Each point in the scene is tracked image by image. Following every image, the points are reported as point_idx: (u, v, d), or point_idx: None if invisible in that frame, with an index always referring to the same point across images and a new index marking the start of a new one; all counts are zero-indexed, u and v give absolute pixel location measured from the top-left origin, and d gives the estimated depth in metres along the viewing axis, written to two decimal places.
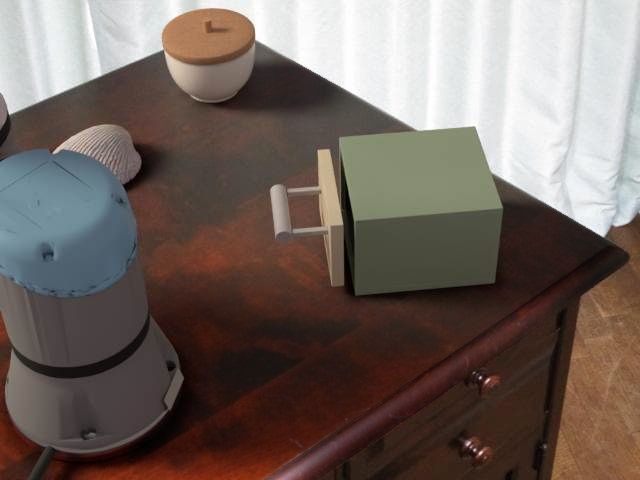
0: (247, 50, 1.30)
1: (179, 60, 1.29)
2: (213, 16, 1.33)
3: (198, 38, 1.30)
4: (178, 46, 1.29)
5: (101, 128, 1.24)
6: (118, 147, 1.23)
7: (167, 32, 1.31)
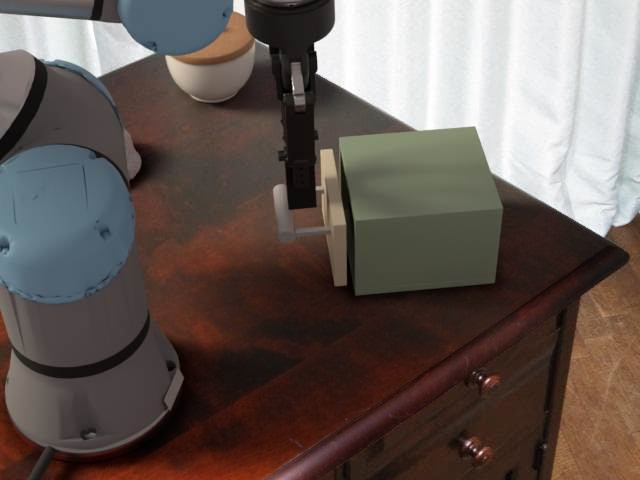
0: (247, 50, 1.30)
1: (179, 60, 1.29)
2: None
3: None
4: None
5: None
6: None
7: None
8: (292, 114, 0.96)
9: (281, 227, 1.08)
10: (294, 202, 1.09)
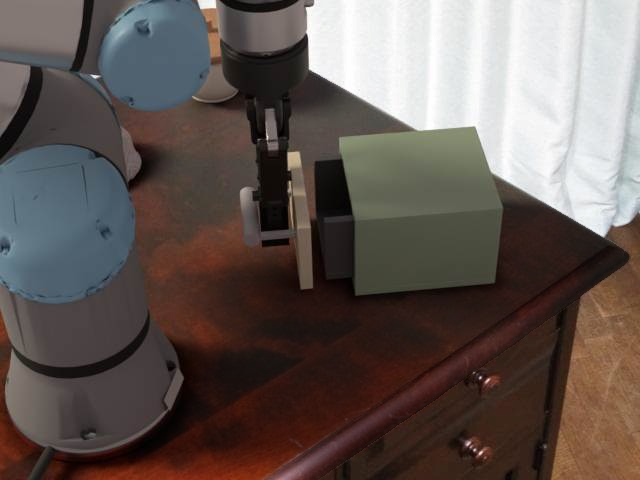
0: None
1: None
2: (213, 16, 1.33)
3: None
4: None
5: None
6: None
7: None
8: (265, 159, 0.99)
9: (246, 230, 1.08)
10: (267, 240, 1.12)
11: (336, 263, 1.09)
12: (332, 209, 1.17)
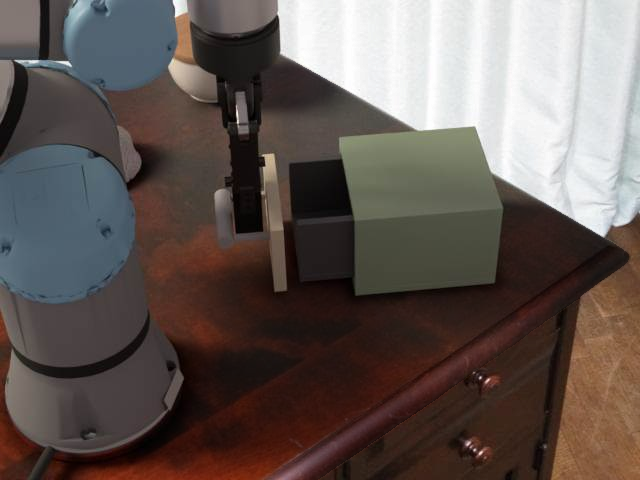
0: None
1: (179, 60, 1.29)
2: None
3: None
4: (178, 46, 1.29)
5: None
6: None
7: None
8: (236, 143, 0.98)
9: (220, 232, 1.08)
10: (241, 227, 1.10)
11: (310, 265, 1.09)
12: (308, 211, 1.16)
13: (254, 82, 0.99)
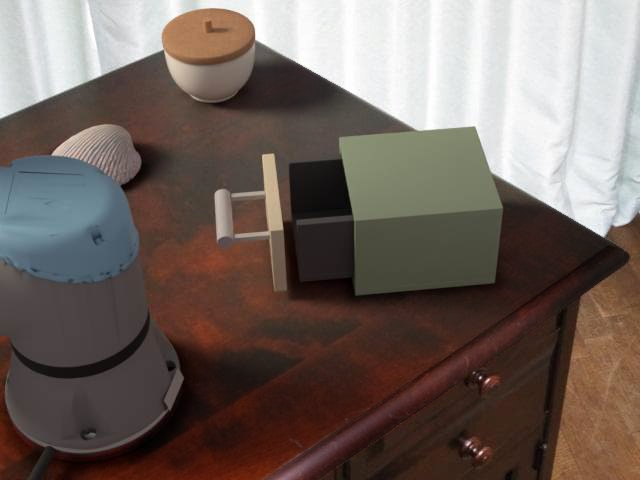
0: (246, 50, 1.30)
1: (179, 60, 1.29)
2: (213, 16, 1.33)
3: (198, 38, 1.30)
4: (178, 46, 1.29)
5: (101, 128, 1.24)
6: (118, 147, 1.23)
7: (167, 32, 1.31)
8: None
9: (220, 232, 1.08)
10: None
11: (310, 265, 1.09)
12: (308, 211, 1.16)
13: None
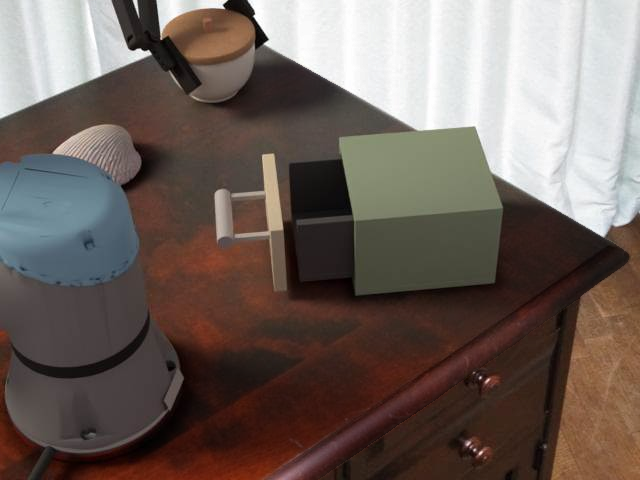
0: (246, 50, 1.30)
1: None
2: (213, 16, 1.33)
3: (198, 38, 1.30)
4: (178, 46, 1.29)
5: (101, 128, 1.24)
6: (118, 147, 1.23)
7: (167, 32, 1.31)
8: None
9: (220, 232, 1.08)
10: (184, 87, 1.29)
11: (310, 265, 1.09)
12: (308, 211, 1.16)
13: None
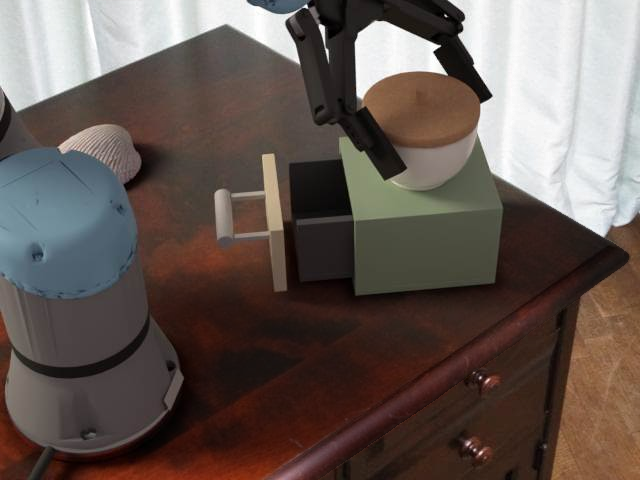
0: (473, 128, 1.02)
1: (390, 141, 1.01)
2: (423, 83, 1.06)
3: (411, 113, 1.02)
4: (388, 123, 1.01)
5: (101, 128, 1.24)
6: (118, 147, 1.23)
7: (369, 104, 1.04)
8: (298, 40, 0.99)
9: (220, 232, 1.08)
10: (382, 170, 1.01)
11: (310, 265, 1.09)
12: (308, 211, 1.16)
13: None
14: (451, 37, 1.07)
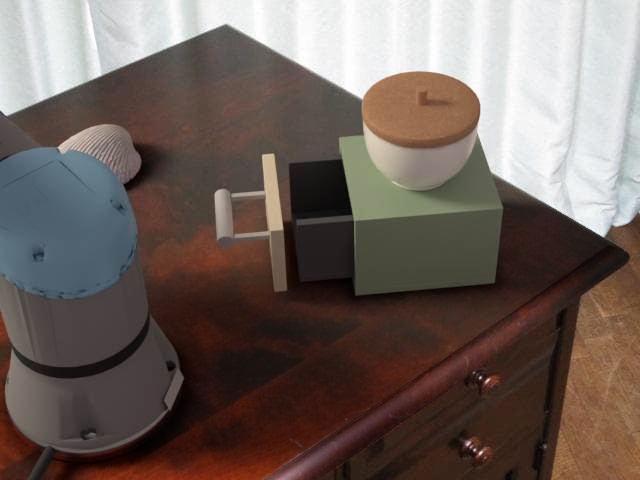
0: (473, 128, 1.02)
1: (390, 142, 1.01)
2: (423, 83, 1.06)
3: (411, 113, 1.02)
4: (388, 123, 1.01)
5: (101, 128, 1.24)
6: (118, 147, 1.23)
7: (369, 104, 1.04)
8: None
9: (220, 232, 1.08)
10: None
11: (310, 265, 1.09)
12: (308, 211, 1.16)
13: None
14: None
